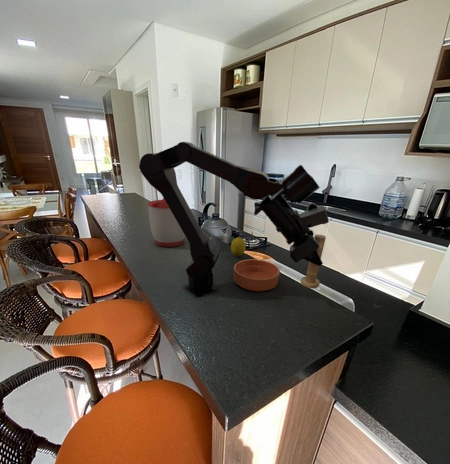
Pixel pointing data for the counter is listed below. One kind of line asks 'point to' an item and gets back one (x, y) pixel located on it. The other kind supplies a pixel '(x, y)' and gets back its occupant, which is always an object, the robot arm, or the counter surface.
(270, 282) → the bowl
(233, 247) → the lemon
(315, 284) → the wooden pestle
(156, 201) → the citrus juicer
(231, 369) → the counter surface
